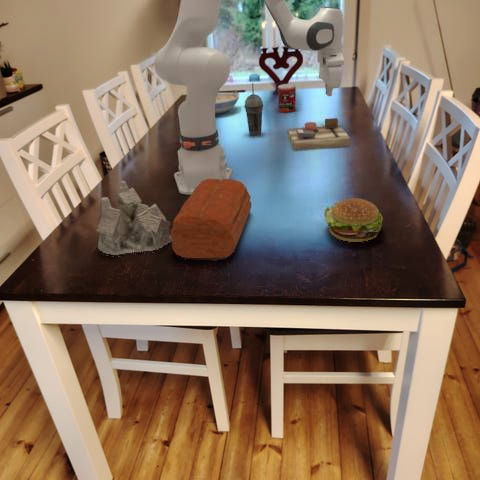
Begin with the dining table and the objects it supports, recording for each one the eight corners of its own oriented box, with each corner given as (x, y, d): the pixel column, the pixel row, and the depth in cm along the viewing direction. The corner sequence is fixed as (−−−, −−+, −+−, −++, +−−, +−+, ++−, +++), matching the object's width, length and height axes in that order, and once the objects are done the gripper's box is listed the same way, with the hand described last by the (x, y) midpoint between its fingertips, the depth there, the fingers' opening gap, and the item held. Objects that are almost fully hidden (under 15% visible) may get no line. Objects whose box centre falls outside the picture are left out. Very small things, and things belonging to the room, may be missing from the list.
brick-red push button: (317, 131, 171) (317, 125, 170) (305, 132, 171) (305, 126, 170) (315, 128, 175) (315, 121, 174) (303, 128, 175) (303, 122, 174)
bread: (254, 210, 127) (252, 174, 122) (234, 263, 105) (230, 222, 100) (199, 208, 131) (195, 173, 125) (169, 260, 108) (162, 219, 103)
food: (328, 215, 122) (329, 188, 117) (384, 222, 117) (387, 193, 113) (316, 242, 111) (317, 212, 107) (377, 250, 106) (380, 219, 102)
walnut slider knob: (337, 127, 173) (337, 119, 172) (325, 128, 173) (326, 120, 172) (336, 125, 175) (336, 118, 173) (324, 126, 175) (325, 119, 173)
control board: (349, 146, 165) (350, 136, 163) (293, 150, 165) (293, 141, 163) (339, 132, 179) (339, 123, 177) (287, 136, 179) (287, 127, 177)
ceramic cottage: (89, 246, 116) (79, 191, 108) (144, 223, 126) (138, 171, 118) (125, 271, 106) (117, 213, 99) (181, 244, 117) (177, 190, 109)
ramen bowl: (182, 119, 209) (180, 100, 205) (198, 105, 228) (196, 88, 224) (236, 119, 203) (235, 100, 199) (248, 105, 222) (247, 88, 218)
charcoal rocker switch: (314, 137, 165) (315, 133, 165) (298, 136, 165) (298, 132, 164) (312, 133, 169) (313, 130, 168) (296, 132, 168) (296, 129, 168)
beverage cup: (265, 131, 186) (263, 80, 176) (264, 137, 180) (261, 84, 170) (246, 132, 187) (243, 80, 177) (245, 138, 181) (242, 85, 170)
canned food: (276, 113, 208) (276, 87, 202) (280, 108, 214) (280, 83, 209) (293, 113, 206) (293, 87, 200) (297, 108, 212) (297, 83, 207)
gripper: (315, 52, 176) (315, 89, 183) (327, 62, 158) (326, 102, 166) (332, 50, 176) (331, 88, 183) (345, 60, 158) (343, 101, 166)
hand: (328, 95), depth 174 cm, fingers closed
